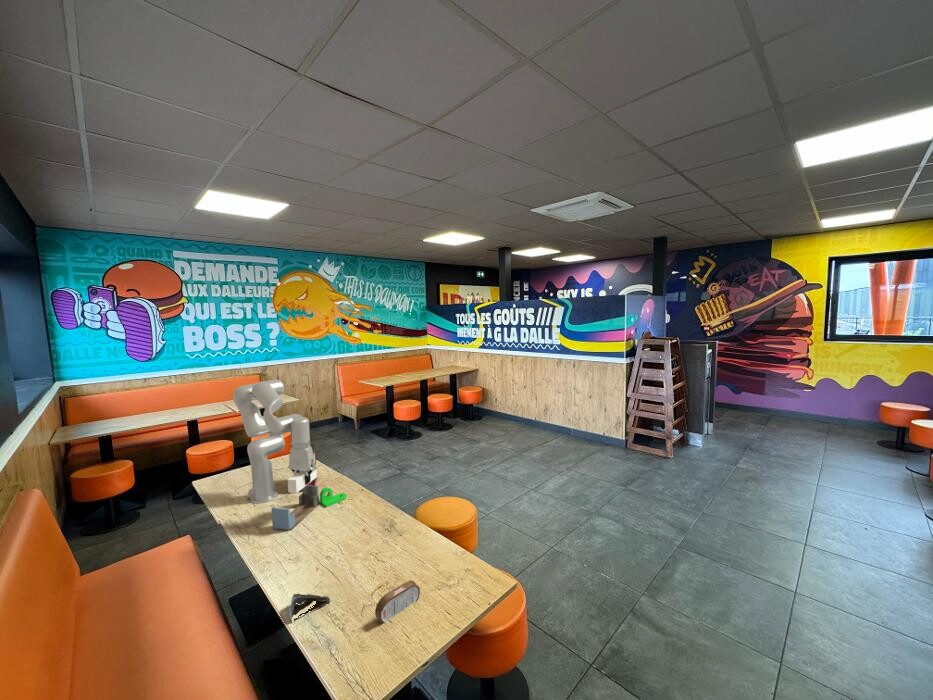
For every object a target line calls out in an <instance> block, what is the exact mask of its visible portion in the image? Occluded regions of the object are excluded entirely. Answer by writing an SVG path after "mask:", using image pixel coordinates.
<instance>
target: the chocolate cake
mask: <svg viewBox="0 0 933 700" xmlns="http://www.w3.org/2000/svg"><path fill="white" fill-rule="evenodd" d="M306 600H307V601H309V602H312V601H316V604H315V605H313V606H314V607H313V606H312V607H313V608H311V607H310V608H311V609H308V611H306V612H305V613H302V614H306V613H308V612H309V611H312V610H314V609H316V608H318V607H320V608H322V607H324V606H326V605H325V604H329V605H330V602H331V599H330V597H329V596H325V595H322V596H320V595H316V594H310V593H307V594H302V593H299V592H297V593H294V594H293V595H292V597H291V601H290V606H289V611H288V614H289V619H292V617H293V614H294V609H295V608H294V606H295V604H296V603H298V604H302V603H303V602H306V603H307V601H306ZM302 605H303V604H302ZM323 605H324V606H323ZM321 606H322V607H321ZM295 607H296V606H295ZM318 609H319V608H318ZM316 610H317V609H316ZM314 611H315V610H314ZM312 612H313V611H312ZM302 614H300V615H299V616H301V615H302ZM308 614H309V613H308ZM306 615H307V614H306ZM299 616H298V617H299Z"/></svg>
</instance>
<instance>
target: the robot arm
mask: <svg viewBox="0 0 933 700" xmlns="http://www.w3.org/2000/svg"><path fill="white" fill-rule="evenodd" d="M285 390H286V389H285V385H284V383H283V381H281V380H280V379H270V380H264V381H263V380H262V381H259V382H257V383H249V384H245V385H241V386H238V387H237V388H235V389H234V391H233V394H232V396H233V397H232V398H233V402H234V404H235V406H236V408H237V409H238V411H239V414H240V416H241V421H242V424H243V426H244V430H245V433H246V435H247V437H248V438H256V437H261V436H264V435H268V436H264V437H261V438H257V439H254V440H252V441H251V442H249V444H248V445H247V449H246V450H247V454H248V458H249V463H250V469H251V470H250V472H251V483H252V488H250V489H248V492H247V495H248V496H251V497H250V499H249V500H250V503H251V504H255V505H258V504H259V505H260V504H265V503H268V502H272V501H273V500H275V499H276V498H277V497H278V495H279V494H278V493H279V492H278V491H276V490H275V484H274V483H275V482H274V470H273V463H272V461H271V460H270V459H269V458H268V457H269V456H270V455H271V456H272V455H274V454H277V453H279V452H282V451H283V450H284V449H285V446H286V440H285V438H284V434H286V433H287V434H288V433H291V441H290V442H289V445H291V446H292V447H290V449H289V460H288V462H289V463H288V466H287V468H288V469H289V470H290V471H292V473H293V475H295V474H296V473H298V472H299V471H300V470H301V471H305V474H306V476H305V484H308V483H309V482H310V481H311V476H310V474H311V473H312V472H313V471H315V470H316V469H317V470H318V467H316V466H315V464H314V456H313V451H312V447H311V446H310V445H311V438H310V437H311V436H310V420H309V418H307V416H306V417H305V416H302V415H301V414H298V413H292V414H290V415H284V416H280V417H277V416H275V415H274V413H275V412H277V411H278V410H280V408H282V406H283V404H284V400H283V398H282V397H281V395H283V394H284V392H285ZM253 401H258V402H259V403H260V405H261V406H262V407H263V408H264V411H263V415H262V414H261V410H260V408H259V406H258V405H257V404H256V403H254V402H253ZM311 467H312V469H311Z"/></svg>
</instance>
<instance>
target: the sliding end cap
mask: <svg viewBox="0 0 933 700" xmlns="http://www.w3.org/2000/svg"><path fill="white" fill-rule="evenodd" d="M290 513H291V512H290V508H286V507H285V508H283V507H272V508H271V518H272V529H273V528H277V529H276V530H279V529H288V530H287V531H291V530H290V529H291V528H292V527H293V526H294V525H295V514H292V515H291V516H290Z"/></svg>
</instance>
